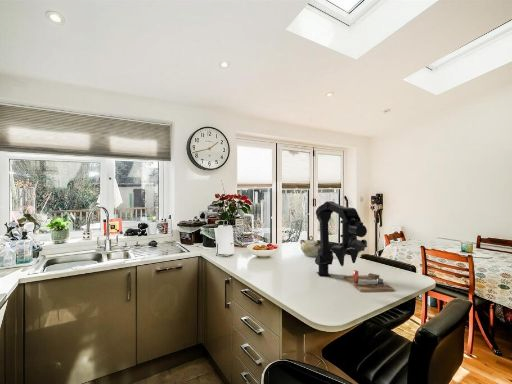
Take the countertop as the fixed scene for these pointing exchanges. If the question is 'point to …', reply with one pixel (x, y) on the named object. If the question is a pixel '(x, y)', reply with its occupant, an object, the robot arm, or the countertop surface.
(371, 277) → the walnut
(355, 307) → the countertop surface
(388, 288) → the cracker base
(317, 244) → the sugar bowl
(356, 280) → the lever
